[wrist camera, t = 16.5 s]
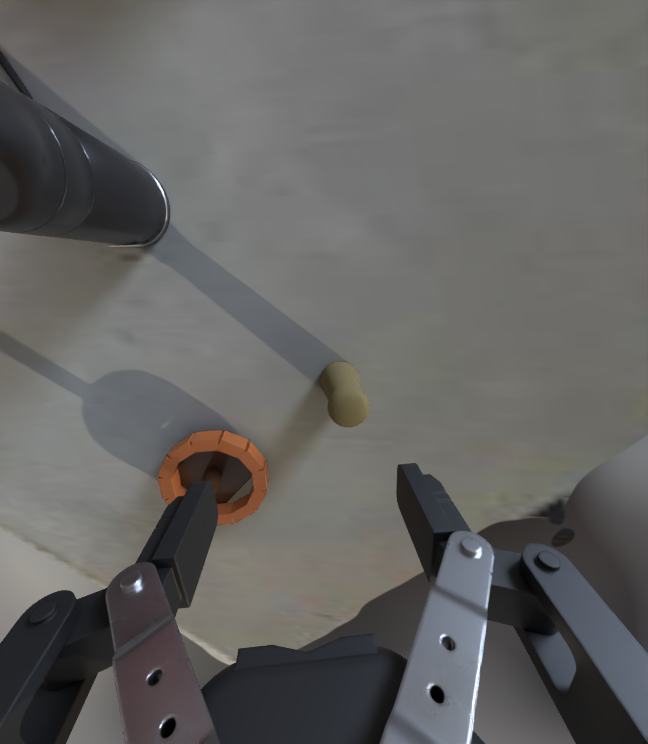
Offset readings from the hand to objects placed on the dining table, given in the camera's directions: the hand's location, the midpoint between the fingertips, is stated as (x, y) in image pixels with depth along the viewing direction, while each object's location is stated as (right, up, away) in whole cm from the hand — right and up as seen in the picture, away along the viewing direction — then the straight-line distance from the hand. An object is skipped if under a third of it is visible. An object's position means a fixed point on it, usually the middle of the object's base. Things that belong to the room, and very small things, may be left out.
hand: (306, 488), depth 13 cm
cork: (+3, +4, +33) cm, 34 cm away
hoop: (-16, -11, +35) cm, 41 cm away
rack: (-17, -11, +37) cm, 42 cm away
